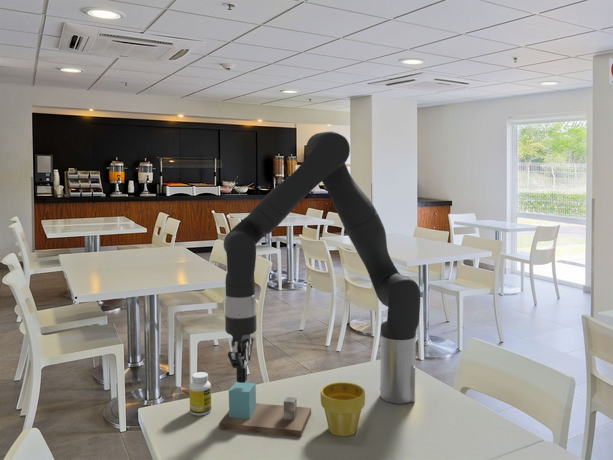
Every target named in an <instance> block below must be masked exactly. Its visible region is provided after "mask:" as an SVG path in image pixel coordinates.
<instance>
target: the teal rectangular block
mask: <svg viewBox="0 0 613 460" xmlns="http://www.w3.org/2000/svg"><path fill="white" fill-rule="evenodd" d="M256 385H257V384H256V383H253V382H245V383H238V382H237V381H235V382H234V384H233V385H232V386H231V387H230V388H229V389H228V411H229V417H233V418H244V419H250V418H251V416H252V415H253V413H254V412H255V410H256V403H257V392H256V391H257V387H256Z"/></svg>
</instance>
